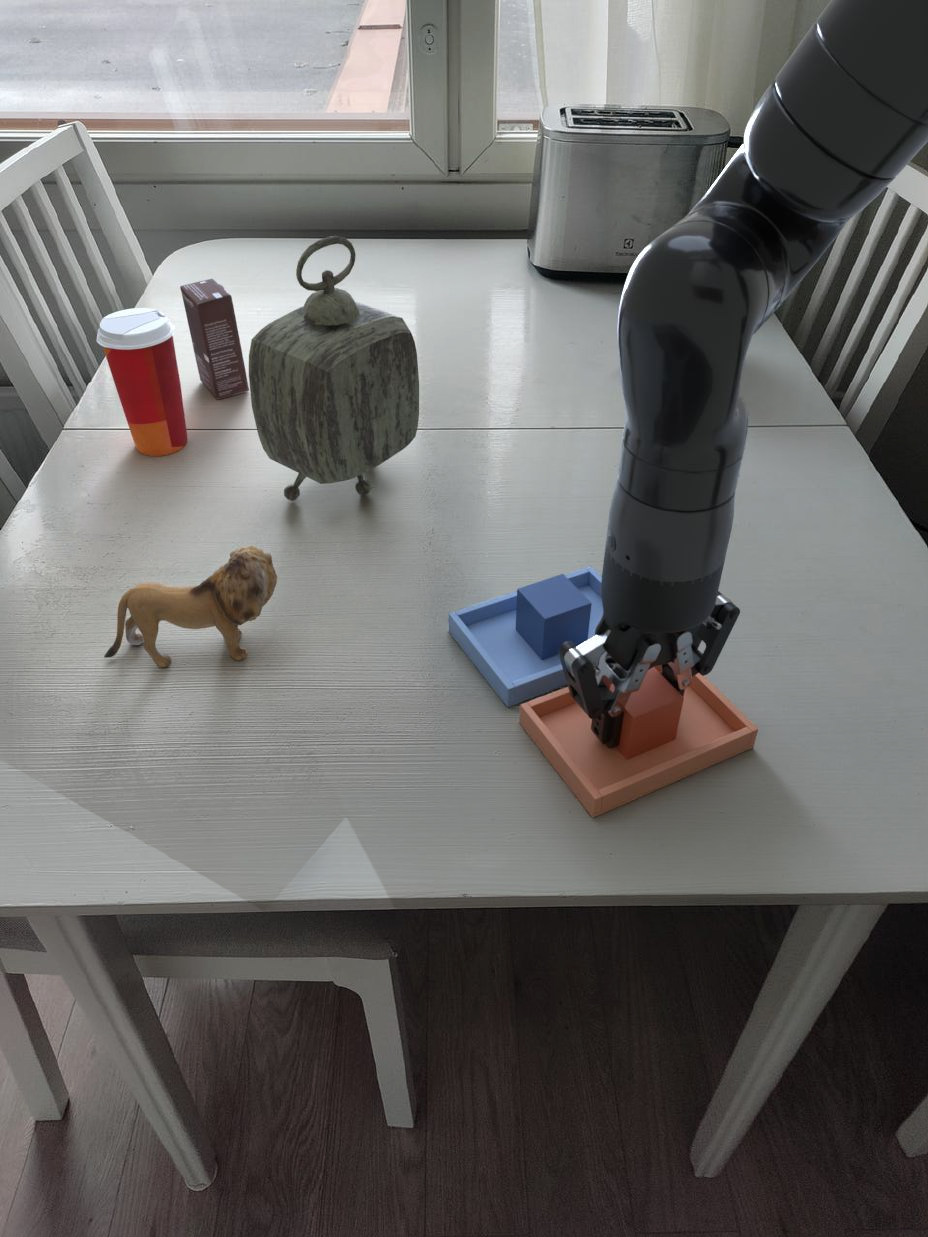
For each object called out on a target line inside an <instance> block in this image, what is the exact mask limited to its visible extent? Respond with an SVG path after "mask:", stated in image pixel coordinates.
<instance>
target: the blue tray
mask: <svg viewBox="0 0 928 1237" xmlns="http://www.w3.org/2000/svg"><path fill="white" fill-rule="evenodd" d="M564 575H565V576H566V577H567V578H568V579H569V580H570V581H571V582H572V584H573V585H574V586H575V587H576V588H577V589H578V590H579V591H580V592H581V593H582V594H583V595H584V596H585V597H586V598H587V599H588V600H589V601H590V602H591V603H592V605H591V614H590V623H589V633H588V640H589V639H591V638H592V637H594V636H595V630H596V627H597V625H598V623H599V622H600V620H601V618H602V616H603V604H602V598H601V580H602V574H600V573H599V572H598V571H597V570H596V569H595V568H594V567H593V566H588V567H584V568H582V569H578V570H575V571H573V572H570V573H567V574H564ZM516 605H517V590H515V591H512V592H509V593H507V594H504V595H501V596H498V597H494V598H491V599H488V600H485V601H482V602H479V603H476V604H473V605H471V606H467V607H464V608H461V609H458V610H455V611H452V612H449V613H448V632H449V634H450V635H451V636H452V638H453V639H454V640H455V642H456V643H457V644H458V645H459V647H460V648H461V649H462V651H463V652H464V653H465V654H466V656H467V657H468V658H469V660H470V661H471V663H473V665H474V666H475V667H476V669H477V670H478V671H479V673H480V674H481V676H483V678H484V679H485V680H486V682H487V683H488V685H490V687H491V688H492V690H493V691H494V692H495V693H496V694H497V696H498V697H499V698H500V700H501V701H502V702H503V704H504V706H506V707H507V708H511V707H513V706H516V705H518V704H522V703H525V702H526V701H530V700H532V699H535V698H538V697H540V696H542V695H546V694H548V693H549V692H550V693H551V692H552V691H553V692H554V691H556V690H559V689H562V688H564V687H567V686H568V685H567V681H566V678H565V674H564V671H563V667H562V664H561V660H560V657H559V654H558V655H555V656H552V657H550V658H547V659H544V660H541V658H540V657H539V656H538V655H537V654H536V653H535V651H534V650H533V649H532V648H531V647H530V646H529V644H528V643H527V642H526V641H525V640H524V639H523V637H522V636H521V635H520V634H519V633H518V632H517V630H516Z"/></svg>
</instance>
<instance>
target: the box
mask: <svg viewBox="0 0 928 1237" xmlns="http://www.w3.org/2000/svg"><path fill="white" fill-rule="evenodd" d="M179 288H180V292H181V296H182V301H183V306H184V311H185V315H186V321H187V325H188V329H189V334H190V338H191V343H192V349H193V354H194V357H195V362H196V367H197V371H198V376H199V380H200V381H201V383H202V384H203V385H204V386H205V387H206V388H207V389H208V391H210V392H211V394H212V395H213V396H214V397H215V399H216V400H222V399H225V398H229V397H234V396H236V395H237V396H238V395H241V394H245V393H246V392H250V386H249V382H248V377H247V371H246V366H245V361H244V356H243V355H244V354H243V350H242V345H241V339H240V334H239V330H238V324H237V318H236V312H235V307H234V302H233V297H232V295H231V294H230V293H229V292H228V291H227V290H226V289H225V287H224V286H223V285H222V284H220V283H218V282H217V281H216V280H215V279H214V278H209V279H204V280H199V281H195V282H191V283H186V284H183V285H180V286H179Z"/></svg>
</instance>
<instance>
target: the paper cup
mask: <svg viewBox="0 0 928 1237" xmlns="http://www.w3.org/2000/svg"><path fill="white" fill-rule="evenodd" d="M175 331H176V327H175V326H174V323H172V322H171V321H170V318H169V317H168V316H167V315H166V314H165V313H163V312H162V311H160V310H159V309H157V308H151V307H134V308H126V309H122V310H118V311H115V312H112V313H109V314H107V315H106V316H104V317H103V318H102V319H101V321H100V322H99V328H98V329H97V335H96V341H95V342H96V343H97V344H98V345H99V346H101V347H102V349H103V352H104V355H105V358H106V361H107V364H108V367H109V370H110V374H111V376H112V379H113V382H114V386H115V389H116V391H117V395H118V398H119V402H120V404H121V406H122V410H123V414H124V417H125V420H126V422H127V425H128V428H129V432H130V434H131V437H132V440H133V443H134V446H135V448H136V450H137V451H138V452H139V453H141V454H142V455H145V456H151V457H161V456H162V457H163V456H167V455H171V454H172V455H173V454H174V453H177V452H179V451H181V450H183V448H185V447H186V445H187V443H188V429H187V422H186V415H185V408H184V401H183V393H182V385H181V379H180V374H179V372H180V371H179V367H178V361H177V355H176V347H175V341H174V334H175Z"/></svg>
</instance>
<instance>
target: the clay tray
mask: <svg viewBox="0 0 928 1237" xmlns="http://www.w3.org/2000/svg"><path fill="white" fill-rule="evenodd" d="M654 667H655V668H656V670H657V671H658V672H659V673H661V672H662V670H661V669H660V668H659V665H658V666H654ZM597 676H598V675H597ZM597 676H596V678H597ZM692 678H693V681H692V683H691V685H690V686H689V687H687V688H686V689H685V692H684V696H683V697H684V701H683V706H682V710H681V715H680V720H679V725H678V730H677V735H676V739H675V740H673V741H671V742H668V743H666V744H663V745H661V746H659V747H656V748H654V749H652V750H649V751H647V752H644V753H642V754H640V755H637V756H635V757H633V758H630V759H628V760H627V759H626V758H625V757H624V756H623V755H622V754H621V752H620V751H619V750H618V749H617V748H616V747H614V748H611V749H609V748H608V747H607V746H606V745H605V744H602V743H601V741H600V740H599V739H598V738H597V737H596V735H595V734H594V733H593V732H592V730H591V723H592V719H590V718H589V716H588V715H587V714H586V713H585V712H584V711H583V709H582V708H581V707H580V706H579V705H578V704H577V702H576V701H575V700H574V699H573V698H572V696H571V695H570V691H569V688H568V686H565V687H562V688H559V689H557V690H554V691H553V692H552V691H551V692H550V693H546V694H544V695H543V696H542V695H541V696H538V697H536V698H533V699H530V700H528V701H527V702H526V701H525V702H522V703H520V705H519V720H518V721H519V722H518V723H519V724H520V726H521V727H522V728H523V730H524V731H525V732H526V733H527V735H528V736H529V737H530V739H531V740H532V741H533V743H534V744H535V745H536V747H537V748H538V749H539V751H540V752H541V753H542V754H543V756H544V757H545V758H546V760H547V761H548V762H549V764H550V765H551V766H552V767H553V769H554V770H555V771H556V772H557V773H558V775H559V776H560V777H561V779H562V780H563V781H564V783H565V784H566V786H567V787H568V788H569V789H570V790H571V792H572V793H573V794H574V796H575V797H576V799H578V801H579V802H580V803H581V805H582V806H583V807H584V809H585V810H586V811H587V813H588V814H589V815H590V816H591V818H592V819H594V818H596V817H599V816H601V815H603V814H605V813H607V812H610V811H613V810H614V809H617V808H619V807H621V806H623V805H626V804H628V803H631V802H632V801H635V800H637V799H639V798H641V797H643V796H646V795H648V794H651V793H653V792H656V791H657V790H661V789H662V788H664V787H666V786H669V785H672V784H674V783H676V782H677V781H680V780H682V779H685V778H687V777H689V776H691V775H693V774H696V773H698V772H700V771H703V770H705V769H708V768H710V767H712V766H714V765H716V764H719V763H722V762H723V761H726V760H728V759H730V758H732V757H735V756H738V755H740V754H741V753H743V752H746V751H748V750H750V749H753V748H754V747H755V742H756V739H757V736H758V733H759V728H758V727H757V726H756V725H755V724H754V723H753V721H751V720H750V719H749V718H748V717H747V716H746V715H745V714H744V713H743V712H742V711H741V710H740V709H739V708H738V707H737V706H736V705H735V704H734V703H733V702H732V701H730V700H729V698H727V697H726V696H725V695H724V693H722V692H721V691H720V690H719V689H718V687H716V686H715V685H714V684H713V683H712V682H711V681H710V680H709V679H708V678H707V677H706V675H704V676H702V675H701V674H700V673H698V674H696V675H695V676H693V677H692Z"/></svg>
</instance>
